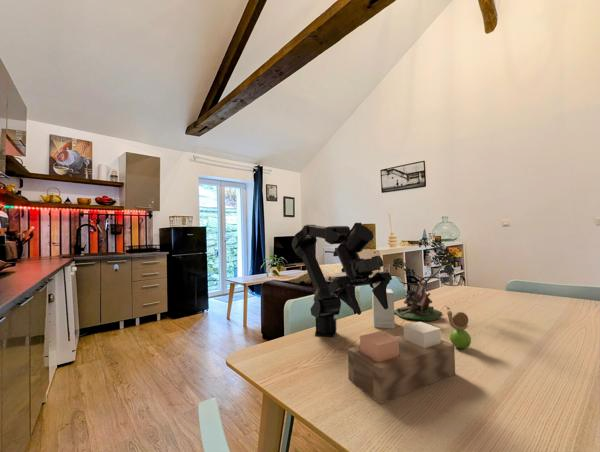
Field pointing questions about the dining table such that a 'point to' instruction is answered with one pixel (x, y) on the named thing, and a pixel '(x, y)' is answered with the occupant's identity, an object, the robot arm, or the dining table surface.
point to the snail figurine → (459, 329)
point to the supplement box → (383, 311)
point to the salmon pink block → (379, 346)
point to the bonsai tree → (423, 287)
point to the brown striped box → (401, 369)
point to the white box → (422, 334)
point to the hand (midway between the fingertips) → (373, 311)
